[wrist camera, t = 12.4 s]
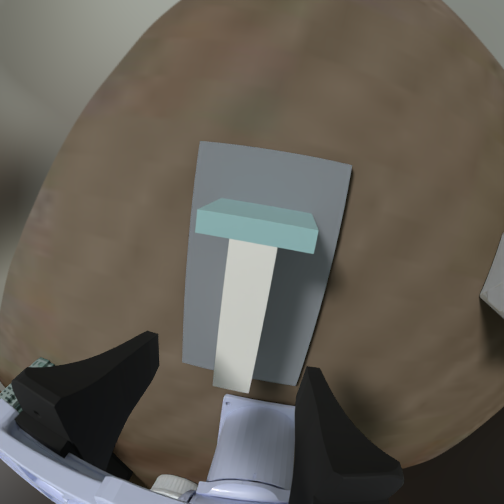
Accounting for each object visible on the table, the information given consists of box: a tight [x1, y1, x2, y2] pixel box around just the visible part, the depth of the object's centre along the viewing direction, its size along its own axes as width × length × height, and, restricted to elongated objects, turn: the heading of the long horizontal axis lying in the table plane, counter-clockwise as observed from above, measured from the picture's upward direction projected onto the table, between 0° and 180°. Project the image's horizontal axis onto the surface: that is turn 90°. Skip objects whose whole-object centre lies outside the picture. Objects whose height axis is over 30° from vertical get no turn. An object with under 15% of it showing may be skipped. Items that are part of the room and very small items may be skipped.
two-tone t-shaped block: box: [195, 198, 319, 393], centre depth 18 cm, size 11×6×5 cm, turn 171°
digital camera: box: [105, 452, 133, 481], centre depth 31 cm, size 10×5×7 cm, turn 19°
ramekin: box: [150, 474, 198, 499], centre depth 31 cm, size 9×9×4 cm
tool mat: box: [182, 141, 352, 386], centre depth 20 cm, size 18×10×1 cm, turn 171°
